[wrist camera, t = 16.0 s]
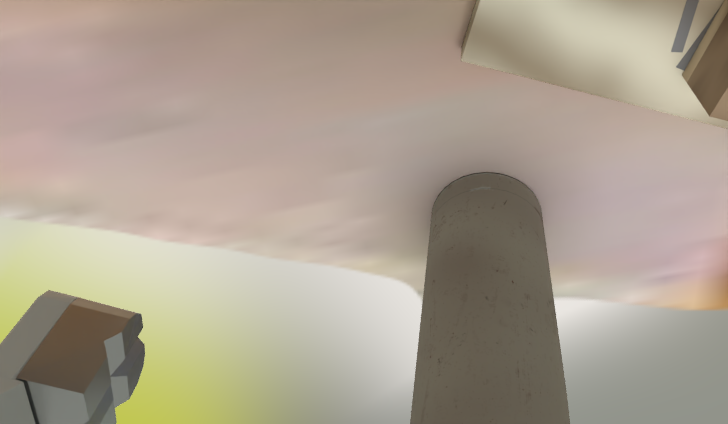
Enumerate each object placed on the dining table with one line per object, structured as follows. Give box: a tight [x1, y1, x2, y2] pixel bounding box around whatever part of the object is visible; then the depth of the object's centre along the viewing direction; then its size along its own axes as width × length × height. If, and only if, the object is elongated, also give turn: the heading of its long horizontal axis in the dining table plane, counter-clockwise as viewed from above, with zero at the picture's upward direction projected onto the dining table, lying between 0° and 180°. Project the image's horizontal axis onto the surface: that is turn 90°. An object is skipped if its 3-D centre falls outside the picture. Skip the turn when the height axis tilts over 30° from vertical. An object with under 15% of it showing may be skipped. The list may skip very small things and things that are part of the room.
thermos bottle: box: [410, 173, 570, 424], centre depth 34 cm, size 8×8×28 cm
